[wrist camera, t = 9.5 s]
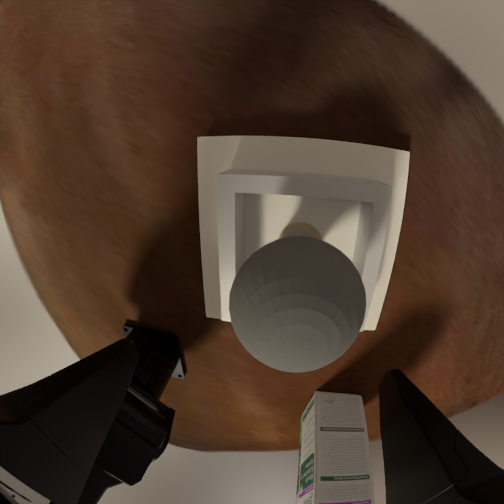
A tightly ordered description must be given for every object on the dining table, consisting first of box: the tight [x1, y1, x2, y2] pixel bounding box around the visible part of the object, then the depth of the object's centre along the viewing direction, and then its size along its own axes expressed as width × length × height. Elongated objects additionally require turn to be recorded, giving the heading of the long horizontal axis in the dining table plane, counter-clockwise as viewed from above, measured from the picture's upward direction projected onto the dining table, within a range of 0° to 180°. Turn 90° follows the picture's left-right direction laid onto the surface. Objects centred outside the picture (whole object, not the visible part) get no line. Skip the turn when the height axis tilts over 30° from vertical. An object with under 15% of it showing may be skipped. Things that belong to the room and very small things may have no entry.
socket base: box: [197, 136, 410, 332], centre depth 17 cm, size 14×14×4 cm
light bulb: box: [229, 230, 366, 372], centre depth 13 cm, size 6×6×10 cm
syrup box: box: [296, 391, 374, 504], centre depth 20 cm, size 6×6×14 cm
